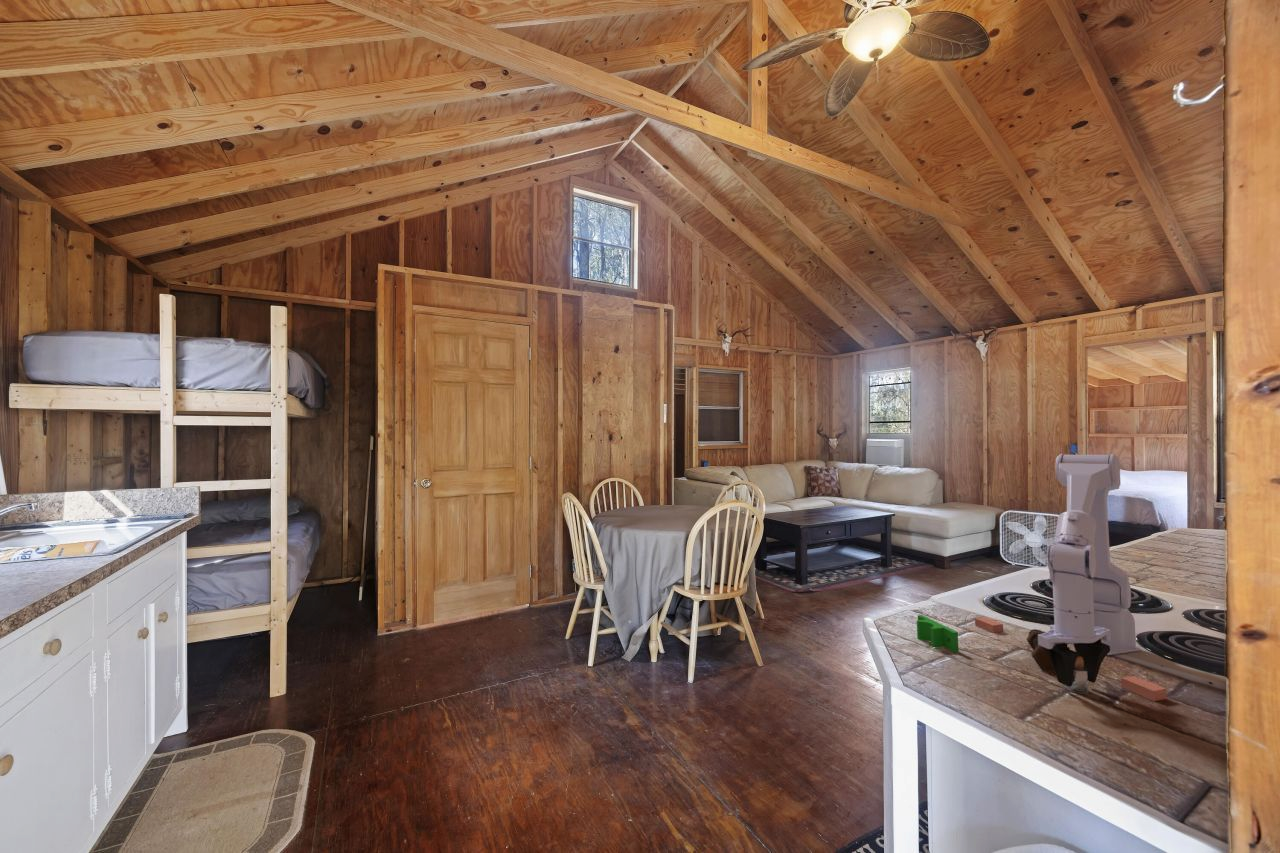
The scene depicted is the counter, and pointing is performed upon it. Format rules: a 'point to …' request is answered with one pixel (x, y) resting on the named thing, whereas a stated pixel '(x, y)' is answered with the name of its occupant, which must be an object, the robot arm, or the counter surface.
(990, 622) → the block
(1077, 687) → the two-tone metal capsule
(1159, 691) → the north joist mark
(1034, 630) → the bolt
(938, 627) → the pipe clamp
